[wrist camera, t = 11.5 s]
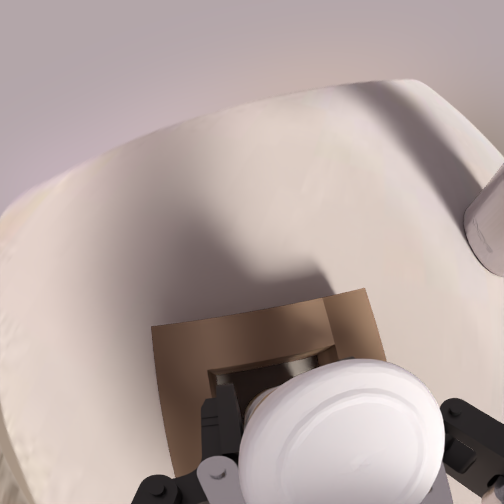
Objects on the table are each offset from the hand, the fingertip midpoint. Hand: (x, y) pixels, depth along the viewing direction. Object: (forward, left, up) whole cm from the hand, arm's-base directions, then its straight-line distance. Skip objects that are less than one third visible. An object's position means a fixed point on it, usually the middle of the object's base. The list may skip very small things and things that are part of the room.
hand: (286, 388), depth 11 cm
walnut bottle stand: (0, +2, -7) cm, 8 cm away
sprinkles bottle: (0, +2, -6) cm, 7 cm away
